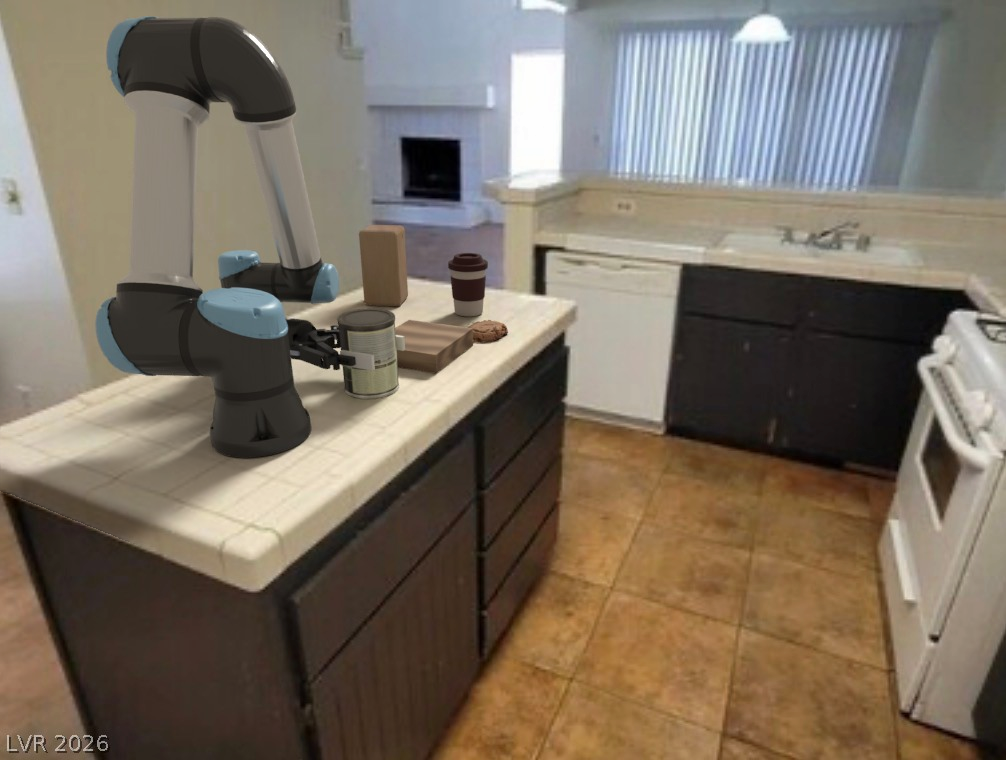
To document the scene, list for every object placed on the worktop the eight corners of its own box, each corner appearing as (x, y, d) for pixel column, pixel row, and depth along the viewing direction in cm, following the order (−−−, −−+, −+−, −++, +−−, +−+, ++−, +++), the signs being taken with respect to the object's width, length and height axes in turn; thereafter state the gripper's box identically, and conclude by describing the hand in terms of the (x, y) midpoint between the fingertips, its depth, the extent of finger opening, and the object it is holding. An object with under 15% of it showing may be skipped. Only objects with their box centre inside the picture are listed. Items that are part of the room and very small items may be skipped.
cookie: (466, 344, 145) (466, 331, 144) (465, 329, 155) (464, 317, 154) (510, 343, 146) (510, 330, 145) (506, 328, 156) (506, 316, 154)
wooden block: (409, 297, 179) (405, 224, 171) (400, 307, 170) (395, 231, 162) (374, 296, 180) (368, 224, 172) (363, 306, 171) (357, 230, 163)
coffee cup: (443, 316, 163) (442, 258, 157) (457, 306, 172) (456, 250, 166) (480, 320, 160) (480, 260, 154) (492, 309, 169) (492, 252, 163)
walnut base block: (436, 373, 128) (435, 354, 126) (367, 362, 133) (366, 344, 132) (473, 345, 143) (472, 328, 142) (410, 336, 149) (409, 319, 147)
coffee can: (332, 391, 119) (324, 319, 114) (369, 373, 128) (364, 305, 122) (374, 404, 115) (368, 329, 109) (410, 384, 123) (406, 313, 117)
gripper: (326, 337, 135) (419, 352, 128) (250, 375, 116) (355, 395, 108) (322, 303, 132) (418, 315, 125) (244, 336, 113) (352, 353, 106)
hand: (389, 352), depth 117 cm, fingers closed on coffee can, 10 cm apart
